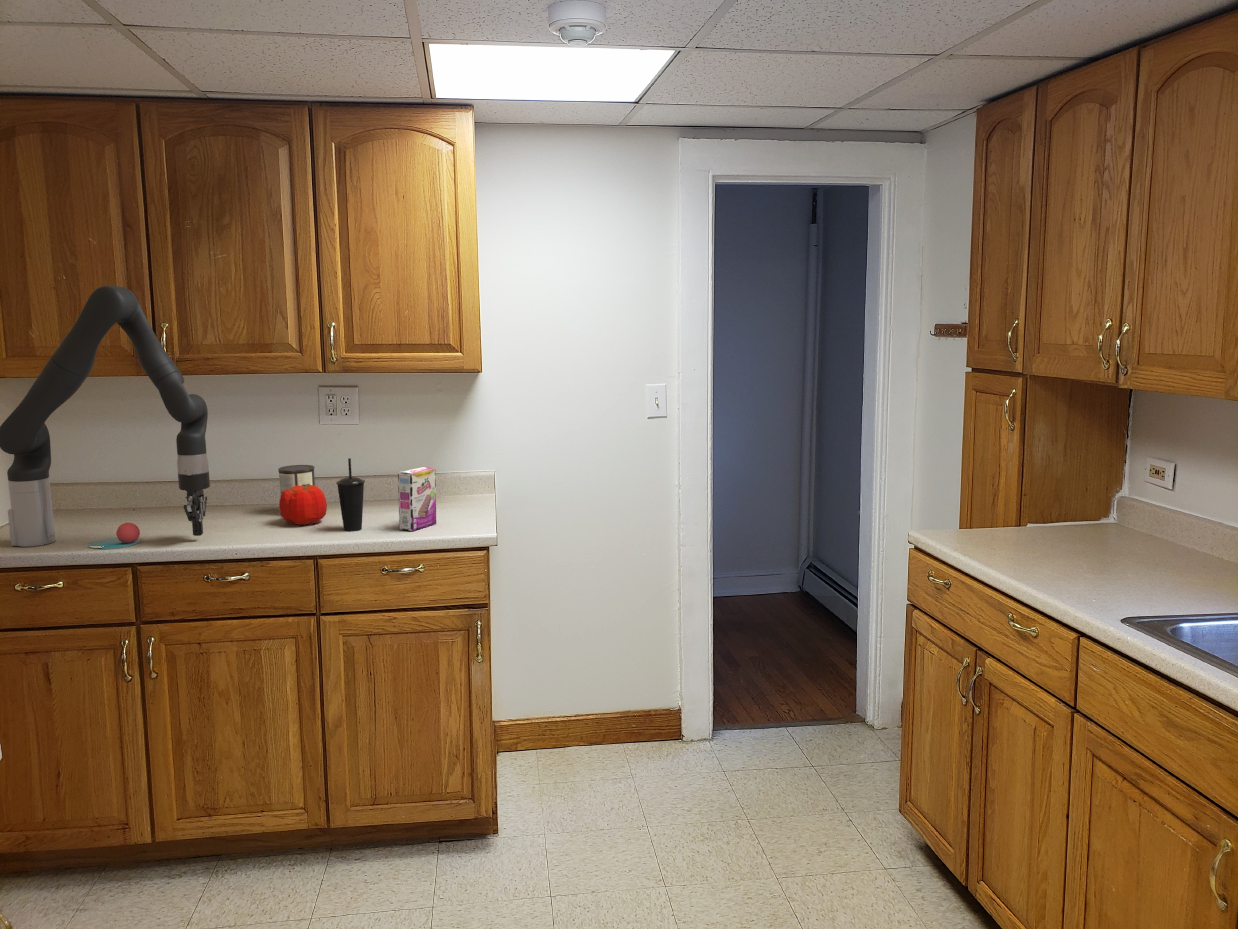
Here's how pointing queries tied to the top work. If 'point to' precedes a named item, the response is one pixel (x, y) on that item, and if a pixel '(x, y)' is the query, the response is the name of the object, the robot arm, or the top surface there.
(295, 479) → the coffee can
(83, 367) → the robot arm
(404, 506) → the candy bar box
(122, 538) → the ball
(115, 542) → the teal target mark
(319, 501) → the tomato
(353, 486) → the drinking cup
